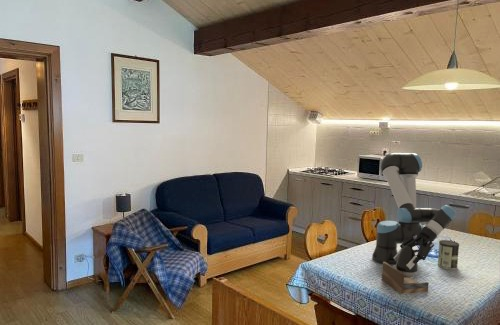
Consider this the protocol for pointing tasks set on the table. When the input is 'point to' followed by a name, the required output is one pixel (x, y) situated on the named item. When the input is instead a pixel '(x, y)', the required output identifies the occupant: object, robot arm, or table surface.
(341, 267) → the table surface
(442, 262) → the coffee can
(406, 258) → the pump dispenser
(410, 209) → the robot arm
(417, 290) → the stand
